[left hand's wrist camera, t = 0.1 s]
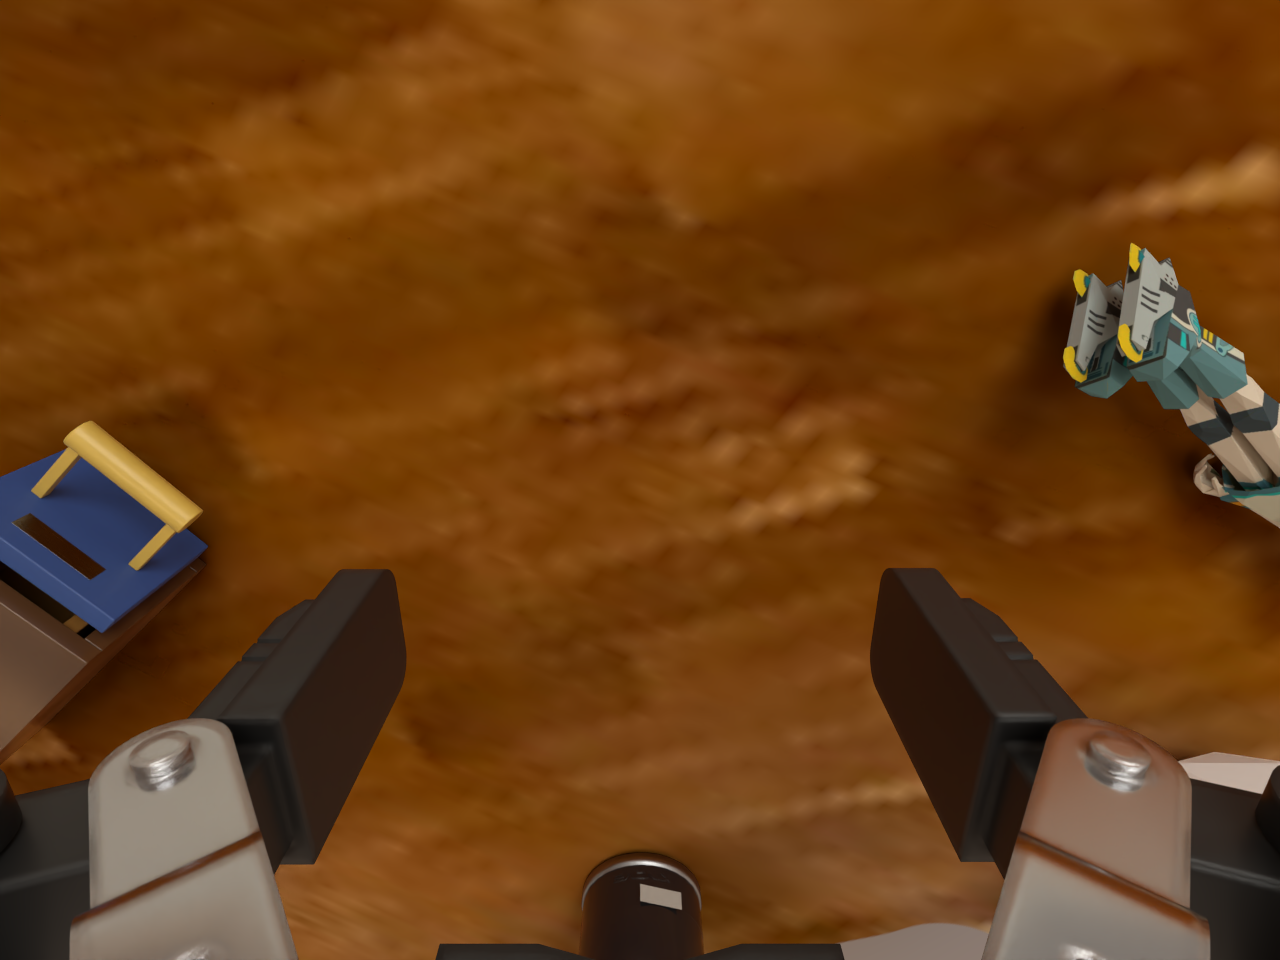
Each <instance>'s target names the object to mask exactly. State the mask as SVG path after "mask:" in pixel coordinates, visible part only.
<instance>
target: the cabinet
mask: <svg viewBox="0 0 1280 960" xmlns="http://www.w3.org/2000/svg"><path fill="white" fill-rule="evenodd" d="M205 566H206V563H204V562H203V561H202V560H200V559H199V558H197V559H195V560H194V561H193V562H191V563H190V564H189V565H188V566H186V567H185V568H184V569H183V570H181V571H180V572H179V573H178V574H176V575H175V576H174V577H173V578H171V579H170V580H169V581H168V582H166V583H165V584H164V585H163V586H161V587H160V588H159V589H158V590H156V591H155V592H154V593H153V594H151V595H150V596H149V597H148V598H146V599H145V600H144V601H143V602H141V603H140V604H139V605H137V606H136V607H135V608H134V609H132V610H131V611H130V612H129V613H127V614H126V615H125V616H124V617H122V618H121V619H120V620H119V621H117V622H116V623H115V624H114V625H112V626H111V627H110V628H109V629H107V630H106V631H105V632H103V633H101V632H99V631H98V630H97V629H96V630H95V631H93V632H92V633H91V634H89V635H88V636H87V637H86V638H82V637H81V636H80V635H78V634H77V633H75V632H74V631H72V630H71V629H70V628H68V627H67V626H65V625H64V624H63V623H61V622H60V621H58V620H57V619H55V618H54V617H53V616H51V615H50V614H48V613H47V612H46V611H44V610H43V609H41V608H40V607H38V606H37V605H36V604H34V603H33V602H31V601H30V600H29V599H27V598H26V597H24V596H23V595H21V594H20V593H19V592H17V591H16V590H14V589H13V588H12V587H10V586H9V585H7V584H6V583H4V582H3V581H2V580H0V765H1V764H2V763H3V762H4V761H5V760H6V759H7V758H9V757H10V756H11V755H12V754H13V753H14V752H15V751H17V750H18V749H19V748H20V747H21V746H22V745H23V744H25V743H26V742H27V741H28V740H29V739H30V738H31V737H33V736H34V735H35V734H36V733H37V732H38V731H40V730H41V729H42V728H43V727H44V726H45V725H46V724H47V723H48V722H49V721H50V720H51V719H52V718H53V717H54V716H55V715H56V714H57V713H58V712H59V711H60V710H61V709H62V708H63V707H64V706H65V705H66V704H67V703H68V702H69V701H70V700H71V699H72V698H73V697H74V696H75V695H76V694H77V693H78V692H79V691H80V690H81V689H82V688H83V687H84V686H85V685H86V684H87V683H88V682H90V681H91V680H92V679H93V678H94V677H95V676H96V675H97V674H98V673H99V672H100V671H101V670H102V669H103V668H104V667H105V666H106V665H107V664H108V663H109V662H110V661H111V660H112V659H113V658H114V657H115V656H116V655H117V654H118V653H119V652H120V651H121V650H122V649H123V648H124V647H125V646H126V645H127V644H128V643H129V642H130V641H131V640H132V639H133V638H134V637H135V636H136V635H137V634H138V633H139V632H140V631H141V630H142V629H143V628H144V627H145V626H146V625H147V624H148V623H149V622H150V621H151V620H152V619H153V618H154V617H155V616H156V615H157V614H158V613H159V612H160V611H161V610H162V609H163V608H164V607H165V606H166V605H167V604H168V603H169V602H170V601H171V600H172V599H173V598H174V597H175V596H176V595H177V594H178V593H179V592H180V591H181V590H182V589H183V588H184V587H185V586H186V585H187V584H188V583H189V582H190V581H191V580H192V579H193V578H194V577H195V576H196V575H197V574H198V573H199V572H200V571H201V570H202V569H203V568H204V567H205Z"/></svg>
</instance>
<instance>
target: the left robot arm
mask: <svg viewBox="0 0 1280 960" xmlns="http://www.w3.org/2000/svg"><path fill="white" fill-rule="evenodd" d="M870 664H871V672H872V677H873V681H874V684H875V687H876V689H877V692H878V694H879V696H880V698H881V700H882V702H883V704H884V706H885V708H886V710H887V712H888V714H889V716H890V718H891V720H892V722H893V724H894V726H895V728H896V730H897V732H898V734H899V737H900V739H901V741H902V743H903V745H904V747H905V749H906V751H907V753H908V755H909V757H910V759H911V761H912V763H913V765H914V767H915V769H916V771H917V773H918V775H919V777H920V779H921V782H922V784H923V786H924V788H925V790H926V792H927V794H928V796H929V798H930V800H931V802H932V804H933V806H934V808H935V810H936V812H937V814H938V816H939V818H940V820H941V822H942V824H943V827H944V829H945V831H946V833H947V835H948V837H949V839H950V841H951V843H952V845H953V847H954V849H955V851H956V853H957V855H958V857H959V859H960V861H961V862H995V863H996V865H997V867H998V869H999V871H1000V873H1001V874H1002V876H1003V878H1004V880H1005V881H1004V884H1003V888H1002V891H1001V895H1000V898H999V901H998V905H997V908H996V912H995V915H994V918H993V922H992V925H991V929H990V932H989V936H988V939H987V942H986V946H985V949H984V953H983V956H982V959H981V960H1280V765H1279V766H1277V767H1276V768H1275V769H1274V770H1273V771H1272V773H1271V776H1270V778H1269V780H1268V782H1267V785H1266V787H1265V789H1264V791H1263V794H1260V793H1255V792H1251V791H1246V790H1242V789H1237V788H1233V787H1228V786H1224V785H1219V784H1215V783H1210V782H1206V781H1201V780H1197V779H1192V778H1189V776H1188V774H1187V772H1186V771H1185V770H1184V768H1183V767H1182V765H1181V764H1180V763H1179V762H1178V761H1177V760H1176V759H1175V758H1174V757H1173V756H1172V755H1171V754H1170V753H1168V752H1167V751H1166V750H1165V749H1163V748H1162V747H1161V746H1159V745H1158V744H1156V743H1155V742H1153V741H1152V740H1150V739H1148V738H1146V737H1145V736H1143V735H1141V734H1139V733H1137V732H1135V731H1132V730H1130V729H1127V728H1125V727H1122V726H1119V725H1116V724H1113V723H1110V722H1105V721H1101V720H1095V719H1088V718H1087V716H1086V715H1085V714H1084V713H1083V712H1082V711H1081V710H1080V708H1079V707H1078V706H1077V705H1076V704H1075V703H1074V702H1073V700H1072V699H1071V698H1070V697H1069V696H1068V695H1067V694H1066V692H1065V691H1064V690H1063V689H1062V688H1061V687H1060V686H1059V684H1058V683H1057V682H1056V681H1055V680H1054V679H1053V678H1052V676H1051V675H1050V674H1049V673H1048V672H1047V671H1046V670H1045V668H1044V667H1043V666H1042V665H1041V664H1040V663H1039V662H1038V660H1033V655H1032V654H1031V652H1030V651H1029V650H1028V649H1027V648H1026V647H1025V646H1024V644H1023V643H1022V642H1018V640H1017V636H1016V635H1015V634H1014V633H1013V632H1012V631H1011V630H1010V628H1009V627H1008V626H1007V625H1006V624H1005V623H1004V622H1003V620H1002V619H1001V618H1000V617H999V616H998V615H996V614H994V613H993V612H991V611H990V610H988V609H986V608H985V607H983V606H982V605H980V604H978V603H977V602H975V601H974V600H972V599H970V598H960V597H959V596H958V595H957V593H956V592H955V591H954V590H953V588H952V587H951V586H950V585H949V584H948V582H947V581H946V580H945V579H944V577H943V576H942V575H941V574H940V572H939V571H938V570H936V569H934V568H888V569H886V570H885V571H884V573H883V575H882V578H881V582H880V588H879V595H878V601H877V608H876V615H875V622H874V628H873V635H872V642H871V650H870ZM405 670H406V647H405V640H404V633H403V627H402V620H401V614H400V607H399V600H398V594H397V587H396V581H395V578H394V575H393V573H392V572H391V571H390V570H388V569H343V570H340V571H339V572H338V573H337V574H336V575H335V576H334V577H333V578H332V580H331V581H330V582H329V583H328V584H327V586H326V587H325V588H324V589H323V591H322V592H321V593H320V594H319V595H318V597H317V598H316V599H315V600H304V601H303V602H301V603H299V604H298V605H296V606H295V607H293V608H291V609H290V610H288V611H287V612H285V613H283V614H282V615H280V616H279V617H277V618H276V619H275V620H274V621H273V622H272V623H271V625H270V626H269V627H268V628H267V629H266V630H265V631H264V633H263V634H262V635H261V636H260V637H259V638H258V642H257V643H254V644H253V645H252V646H251V647H250V648H249V650H248V651H247V652H246V653H245V654H244V655H243V656H242V661H241V662H237V663H236V664H235V665H234V667H233V668H232V669H231V670H230V671H229V672H228V673H227V674H226V676H225V677H224V678H223V679H222V680H221V681H220V682H219V684H218V685H217V686H216V687H215V688H214V689H213V690H212V691H211V693H210V694H209V695H208V696H207V697H206V698H205V699H204V701H203V702H202V703H201V704H200V705H199V706H198V707H197V708H196V710H195V711H194V712H193V713H192V714H191V715H190V716H189V718H188V719H185V720H179V721H175V722H170V723H167V724H164V725H161V726H158V727H155V728H153V729H150V730H148V731H145V732H143V733H141V734H139V735H137V736H135V737H134V738H132V739H130V740H128V741H127V742H125V743H124V744H122V745H121V746H119V747H118V748H117V749H115V750H114V751H113V752H112V753H110V754H109V755H108V756H107V757H106V758H105V759H104V760H103V761H102V762H101V763H100V764H99V765H98V767H97V768H96V770H95V771H94V772H93V774H92V776H91V779H87V780H84V781H79V782H75V783H70V784H66V785H61V786H57V787H52V788H48V789H43V790H39V791H34V792H30V793H25V794H21V795H16V796H14V793H13V791H12V789H11V787H10V784H9V782H8V780H7V778H6V775H5V773H4V772H3V771H2V770H1V769H0V960H299V959H298V956H297V953H296V949H295V946H294V942H293V939H292V936H291V932H290V929H289V925H288V922H287V918H286V915H285V912H284V908H283V905H282V901H281V898H280V895H279V891H278V888H277V884H276V881H275V878H274V874H275V872H276V870H277V868H278V867H279V865H280V864H314V863H315V861H316V859H317V857H318V855H319V853H320V851H321V849H322V847H323V845H324V843H325V841H326V839H327V837H328V835H329V833H330V831H331V829H332V827H333V825H334V823H335V821H336V819H337V817H338V815H339V813H340V811H341V809H342V807H343V805H344V803H345V801H346V799H347V797H348V795H349V793H350V791H351V789H352V787H353V785H354V783H355V781H356V779H357V777H358V775H359V773H360V770H361V768H362V766H363V764H364V762H365V760H366V758H367V756H368V754H369V752H370V750H371V748H372V746H373V744H374V742H375V740H376V738H377V736H378V734H379V732H380V730H381V728H382V726H383V724H384V722H385V720H386V718H387V716H388V714H389V712H390V710H391V708H392V706H393V704H394V702H395V700H396V698H397V696H398V694H399V692H400V689H401V687H402V684H403V681H404V676H405ZM582 911H583V912H582V924H581V936H580V946H579V955H577V954H573V953H569V952H566V951H562V950H559V949H555V948H551V947H548V946H544V945H541V944H440V945H439V949H438V953H437V956H436V960H844V956H843V953H842V949H841V945H840V944H739V945H736V946H732V947H729V948H725V949H721V950H718V951H714V952H711V953H707V954H704V948H703V934H702V922H701V896H700V888H699V884H698V882H697V880H696V878H695V876H694V875H693V874H692V872H691V871H690V870H689V869H688V868H687V867H685V866H684V865H683V864H681V863H680V862H678V861H676V860H674V859H672V858H669V857H666V856H663V855H659V854H653V853H630V854H624V855H620V856H617V857H614V858H612V859H609V860H607V861H605V862H604V863H602V864H600V865H599V866H598V867H597V868H595V869H594V870H593V871H592V872H591V874H590V875H589V876H588V878H587V880H586V882H585V884H584V888H583V896H582Z"/></svg>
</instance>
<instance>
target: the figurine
mask: <svg viewBox="0 0 1280 960" xmlns="http://www.w3.org/2000/svg"><path fill="white" fill-rule="evenodd" d="M1073 280H1074V284H1075V287H1076V290H1077V291H1078V293H1077V298H1076V303H1075V308H1074V313H1073V318H1072V323H1071V328H1070V333H1069V338H1068V343H1067V348H1065V350H1064V355H1063V359H1064V364H1063V367H1064V368H1065V369H1066V370H1067V372H1068V373H1069V374H1070V375H1071V376H1072V378H1073V379H1075V380H1076V382H1075V387H1076V388H1078V389H1080V390H1081V391H1083V392H1085V393H1087V394H1089V395H1091V396H1094V397H1100V398H1108V397H1110V396H1111V395H1112V394H1114V393H1115V392H1116V391H1118V390H1119V389H1120V388H1122V387H1123V386H1124V385H1125V384H1126V383H1127V381H1128V380H1129V379H1130V378H1131V377H1132V376H1134V378H1135V379H1136V380H1137V382H1140V381H1147V382H1148V384H1149V386H1150V387H1151V389H1152V390H1153V392H1154V394H1155V395H1156V397H1157V399H1158V400H1159V402H1160V403H1161V405H1162V407H1163V408H1164V409H1180V410H1181V412H1182V414H1183V417H1184V419H1185V421H1186V424H1187V426H1188V427H1189V429H1190V430H1191V431H1192V432H1193V433H1194V434H1195V435H1196V436H1197V437H1198V438H1200V439H1201V440H1202V441H1203V442H1205V443H1206V444H1207V445H1208V446H1209V447H1210V449H1211V450H1212V451H1213V452H1214V453H1215V455H1216V456H1217V457H1218V458H1219V459H1220V460H1221V462H1222V463H1223V466H1222V475H1223V478H1222V477H1221V476H1220V475H1219V474H1218V473H1217V472H1216V471H1215V470H1214V469H1213V468H1212V467H1211V466H1210V465H1209V463H1208V462H1207V460H1208V459H1211V458H1213V457H1214V456H1215V455H1212V454H1209V455H1207V456H1206V457H1205V458H1204V459H1203V460H1201V461H1200V462H1199V463H1198V464H1197V465H1196V466H1195V469H1194V475H1193V479H1194V483H1195V485H1196V486H1197V487H1198V488H1199V489H1200V490H1201V491H1202V492H1203V493H1205V494H1209V495H1213V496H1218V497H1220V499H1221V500H1223V501H1226V502H1229V503H1232V504H1236V505H1239V506H1242V507H1245V508H1249V509H1251V510H1252V511H1254V512H1256V513H1257V514H1259V515H1261V516H1262V517H1264V518H1265V519H1267V520H1268V521H1270V522H1271V523H1273V524H1274V525H1276V526H1278V527H1279V528H1280V404H1279V403H1278V402H1276V401H1275V400H1274V399H1272V398H1271V397H1270V396H1268V395H1267V394H1266V393H1265V392H1264V391H1263V390H1262V389H1261V388H1260V387H1259V386H1258V385H1257V383H1256V382H1255V381H1254V380H1253V379H1252V378H1251V377H1250V376H1248V375H1247V374H1246V368H1245V361H1244V354H1243V353H1242V352H1241V351H1239V350H1237V349H1236V348H1234V347H1233V346H1231V345H1230V344H1228V343H1226V342H1225V341H1223V340H1222V339H1220V338H1219V337H1217V336H1215V335H1214V334H1212V333H1211V332H1209V331H1208V330H1206V329H1204V328H1203V327H1201V326H1200V325H1199V323H1198V319H1197V316H1196V312H1195V309H1194V305H1193V302H1192V298H1191V294H1190V292H1189V291H1187V290H1186V289H1184V288H1183V287H1181V286H1179V285H1178V282H1177V279H1176V276H1175V273H1174V270H1173V267H1172V263H1171V260H1170V257H1169V258H1167V259H1165V260H1162V261H1160V262H1157V261H1156V260H1155V258H1154V257H1153V256H1152V255H1151V254H1150V253H1149V252H1148V251H1147V250H1146V248H1145V249H1142V250H1141V249H1140V248H1139V247H1137V246H1136V245H1134V244H1133V243H1131V245H1130V256H1129V262H1128V268H1127V275H1126V282H1125V288H1124V292H1123V287H1122V282H1121V280H1120V281H1118V282H1115V283H1113V284H1111V285H1109V286H1107V287H1106V286H1105V285H1104V284H1103V283H1102V282H1101V281H1100V280H1099V279H1098V278H1097V277H1096V276H1095V275H1094V274H1091V275H1089V276H1088V274H1087V273H1085V272H1084V271H1082V270H1080V269H1079V270H1077V271H1075V272H1074V277H1073ZM1212 397H1214V398H1220V400H1221V401H1222V403H1223V405H1224V406H1225V408H1226V409H1227V411H1228V412H1229V413H1228V412H1227V411H1226V410H1225V409H1223V408H1222V407H1221V406H1220V405H1219V404H1218V403H1217V402H1215V401H1214V400H1213V399H1212Z"/></svg>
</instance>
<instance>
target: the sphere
mask: <svg viewBox="0 0 1280 960" xmlns="http://www.w3.org/2000/svg"><path fill="white" fill-rule="evenodd" d="M1178 762H1179V763H1180V764H1181V765H1182V767H1183V768H1184V770H1185V771H1186V772H1187V774H1188V776H1189V778H1192V779H1197V780H1201V781H1206V782H1210V783H1215V784H1219V785H1224V786H1228V787H1233V788H1237V789H1242V790H1246V791H1251V792H1255V793H1260V794H1263V791H1264V789H1265V787H1266V785H1267V782H1268V780H1269V778H1270V776H1271V773H1272V771H1273V770H1274V769H1275V768H1276V767H1277V766H1279V765H1280V761H1275V760H1268V759H1261V758H1254V757H1247V756H1240V755H1233V754H1226V753H1220V752H1212V753H1208V754H1204V755H1200V756H1196V757H1193V758H1189V759H1185V760H1181V761H1178Z"/></svg>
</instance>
